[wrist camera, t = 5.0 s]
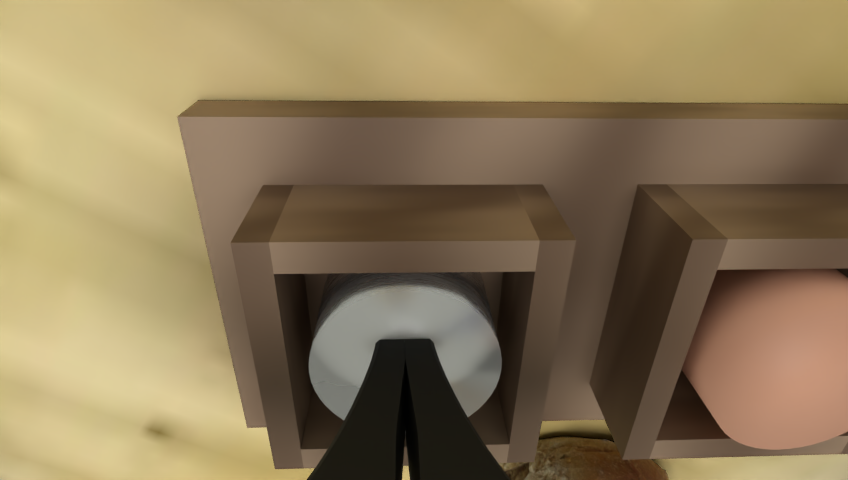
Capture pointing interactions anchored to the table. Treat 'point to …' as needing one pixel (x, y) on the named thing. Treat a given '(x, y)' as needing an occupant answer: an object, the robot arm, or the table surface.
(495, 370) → the grey plunger
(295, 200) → the brown wooden tray
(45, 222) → the table surface
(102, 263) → the table surface
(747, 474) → the table surface
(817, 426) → the tan rounded piece
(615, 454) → the bread roll
